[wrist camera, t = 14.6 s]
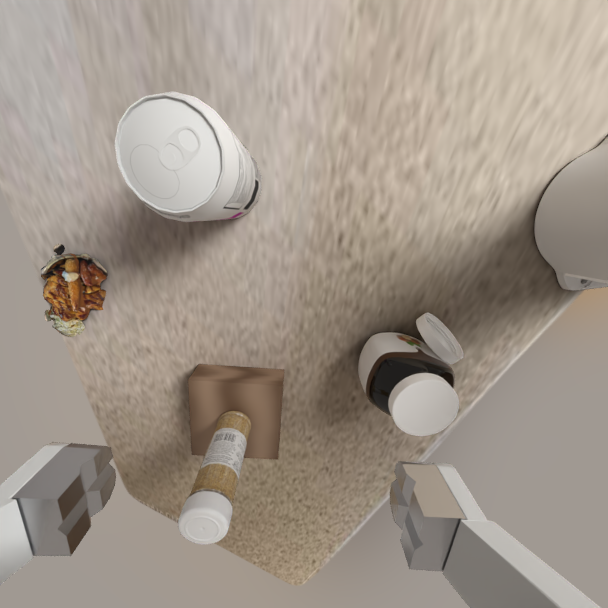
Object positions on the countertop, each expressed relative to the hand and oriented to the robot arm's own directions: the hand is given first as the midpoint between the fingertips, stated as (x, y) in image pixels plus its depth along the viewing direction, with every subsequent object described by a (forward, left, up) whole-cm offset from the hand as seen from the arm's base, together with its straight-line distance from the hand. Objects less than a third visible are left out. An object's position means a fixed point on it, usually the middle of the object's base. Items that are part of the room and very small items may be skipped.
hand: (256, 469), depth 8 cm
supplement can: (+8, -10, -29) cm, 32 cm away
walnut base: (+6, +20, -29) cm, 36 cm away
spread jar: (-16, +9, -29) cm, 35 cm away
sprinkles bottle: (+6, +20, -25) cm, 33 cm away
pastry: (+27, +5, -30) cm, 41 cm away
